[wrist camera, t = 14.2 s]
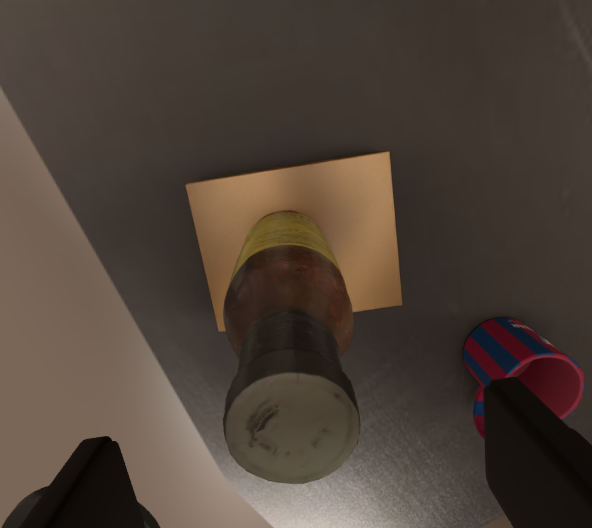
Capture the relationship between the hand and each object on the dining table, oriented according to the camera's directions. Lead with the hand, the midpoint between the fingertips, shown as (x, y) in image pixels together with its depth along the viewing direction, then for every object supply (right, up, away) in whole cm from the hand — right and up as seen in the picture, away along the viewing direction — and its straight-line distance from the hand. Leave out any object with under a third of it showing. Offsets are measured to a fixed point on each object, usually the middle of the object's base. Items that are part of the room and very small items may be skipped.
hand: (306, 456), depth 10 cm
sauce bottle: (-1, +6, +20) cm, 21 cm away
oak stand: (0, +7, +24) cm, 25 cm away
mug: (+18, -5, +28) cm, 34 cm away
